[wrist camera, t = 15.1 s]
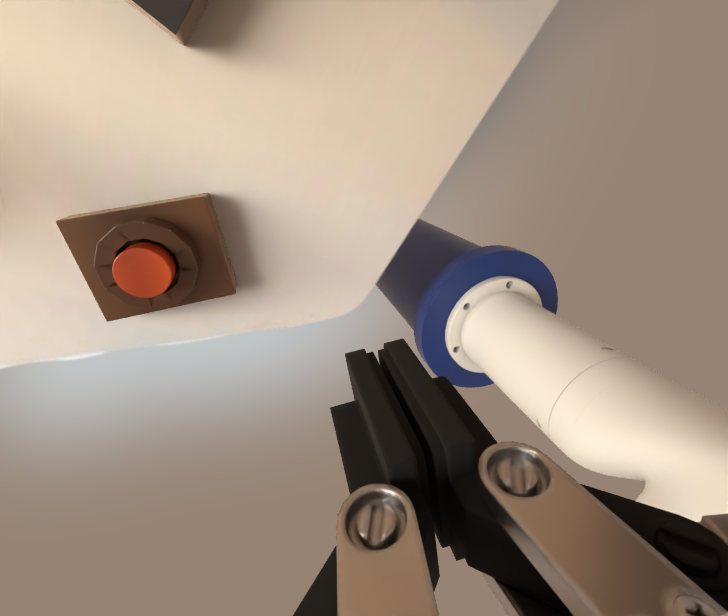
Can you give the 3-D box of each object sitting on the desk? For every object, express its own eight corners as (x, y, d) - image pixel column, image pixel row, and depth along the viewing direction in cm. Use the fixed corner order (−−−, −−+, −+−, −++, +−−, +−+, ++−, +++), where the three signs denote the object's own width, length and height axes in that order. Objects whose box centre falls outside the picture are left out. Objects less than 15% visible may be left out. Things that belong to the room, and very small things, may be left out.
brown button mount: (208, 192, 28) (201, 199, 25) (237, 285, 32) (234, 302, 28) (69, 215, 27) (40, 226, 23) (116, 310, 30) (97, 332, 27)
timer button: (166, 237, 26) (160, 243, 24) (183, 283, 27) (179, 291, 26) (111, 247, 25) (102, 254, 24) (133, 294, 27) (125, 303, 25)
